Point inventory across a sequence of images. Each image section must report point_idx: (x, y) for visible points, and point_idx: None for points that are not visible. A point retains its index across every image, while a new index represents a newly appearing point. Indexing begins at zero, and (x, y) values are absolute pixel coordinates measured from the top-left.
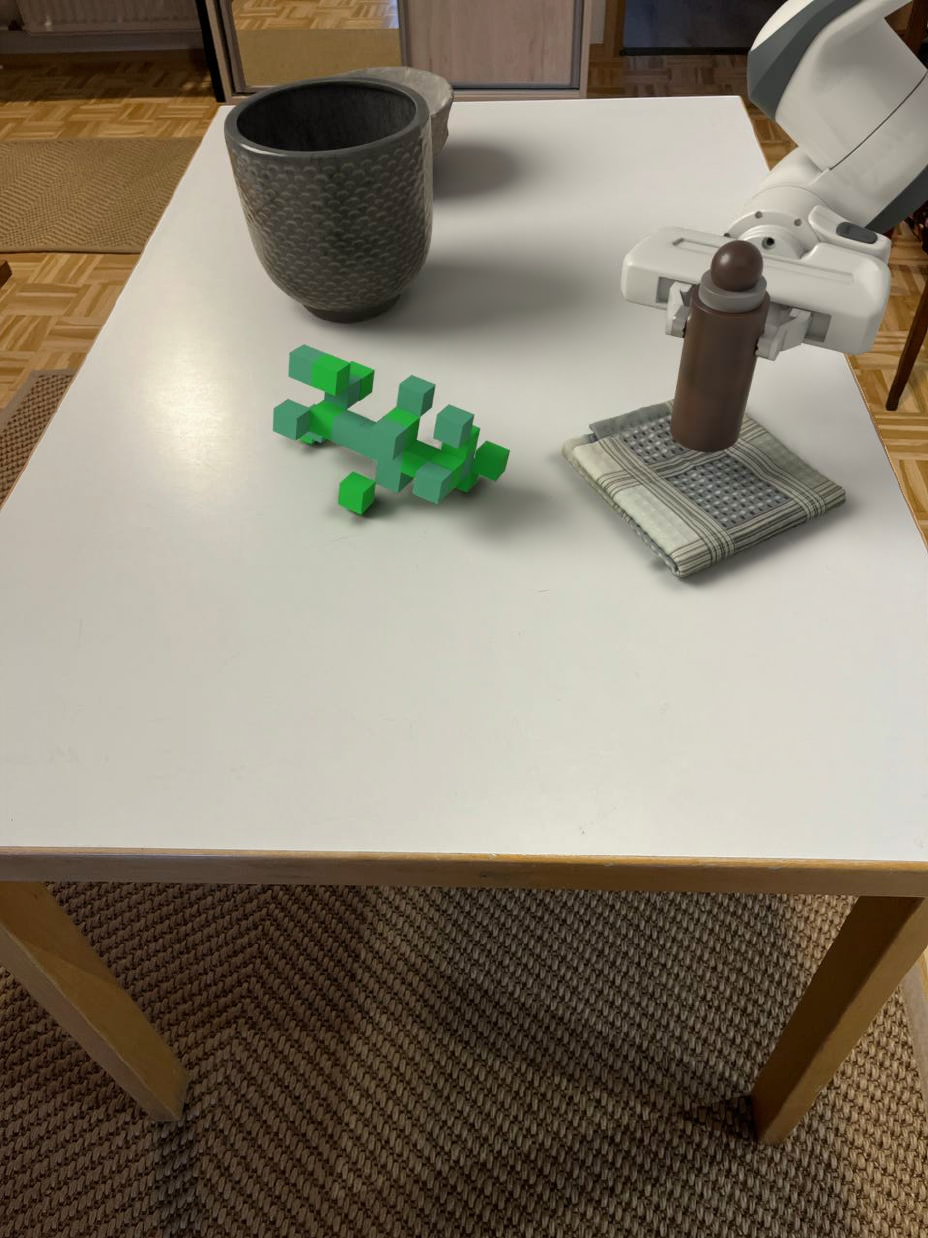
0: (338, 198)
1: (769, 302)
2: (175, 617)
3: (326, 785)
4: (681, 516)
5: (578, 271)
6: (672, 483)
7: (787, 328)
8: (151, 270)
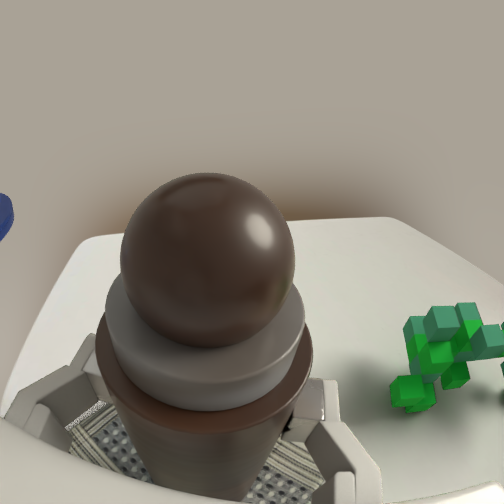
0: None
1: (101, 319)
2: (441, 277)
3: (327, 233)
4: None
5: None
6: None
7: (64, 367)
8: None
